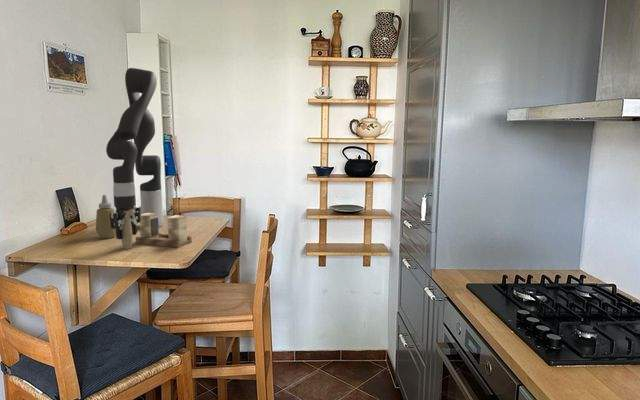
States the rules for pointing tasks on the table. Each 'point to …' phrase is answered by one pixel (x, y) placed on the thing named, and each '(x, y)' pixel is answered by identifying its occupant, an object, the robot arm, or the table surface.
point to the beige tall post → (127, 230)
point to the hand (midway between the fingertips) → (126, 236)
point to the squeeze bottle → (104, 219)
